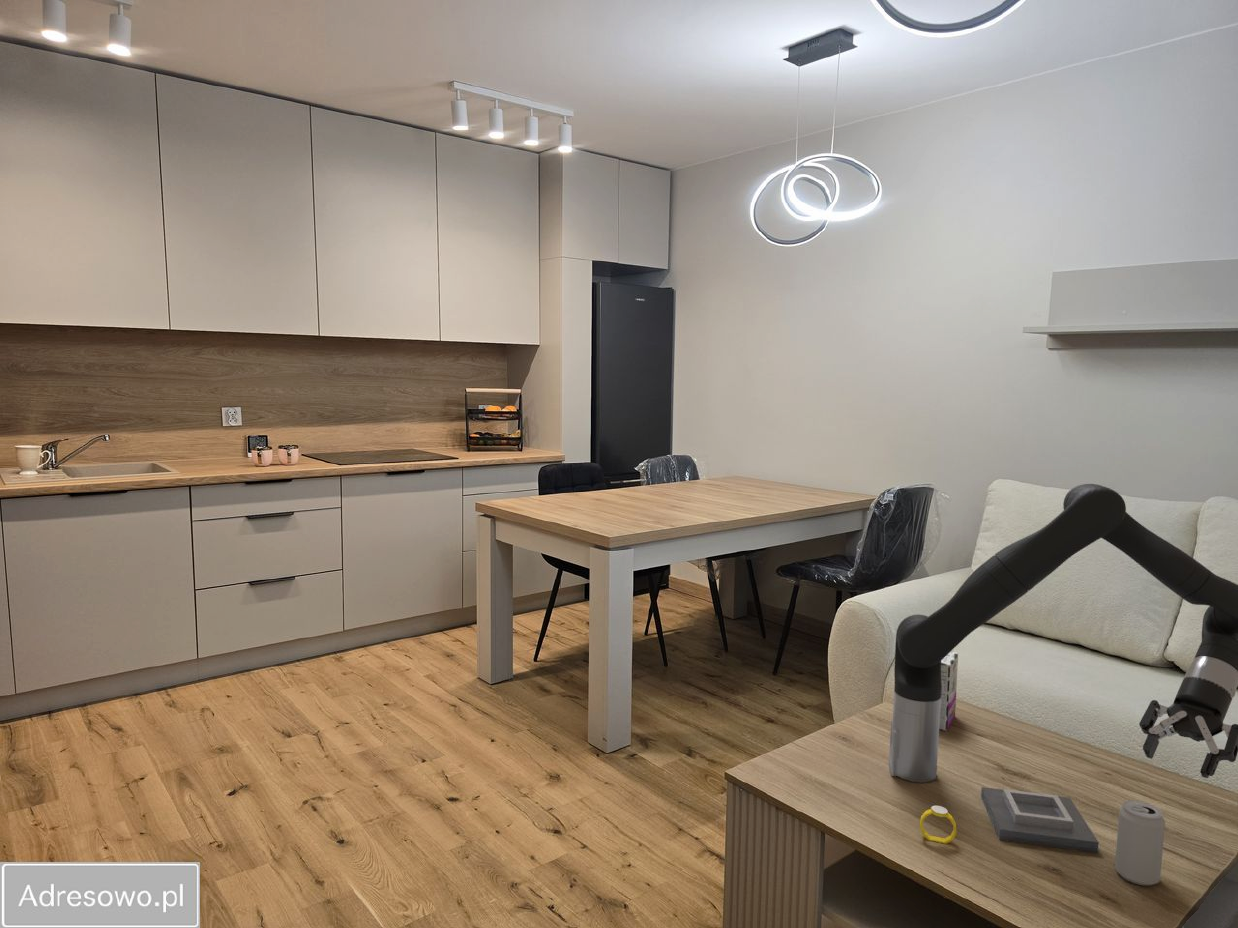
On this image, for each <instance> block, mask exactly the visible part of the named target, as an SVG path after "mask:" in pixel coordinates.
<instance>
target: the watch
mask: <svg viewBox="0 0 1238 928" xmlns="http://www.w3.org/2000/svg"><path fill="white" fill-rule="evenodd" d="M930 815H934V816H936V817H938V818H939V817H940V818H947V819H948V820H949V821H950V822H951V824H952V826H953V829H952V832H951V834H950V835H948V836H947V837H939V836H934V835H930V834H929V833H928V832H927V831H926V830H925V827H924V825H923V824H924V823H923V822H924V821H925V819H926V818H927V817H928V816H930ZM919 821H920V822H919V829H920V831H921V834H922V835H923V837H924V838H926V839H927V840H928V841H930V842H935V843H936V842H937V843H940V844H944V845H947V844H949V843H950V842H952V841H953V840H954V839H955V837H956V835H957V824H956V821H955V819H954V817H953V816H952V814H950V813H949V811H948V809H947V808H946V807H943V806H941V805H933V806H931V807H930V809H927V810H925V811H924V812H923V813H922V814H921V816H920V820H919Z"/></svg>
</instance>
